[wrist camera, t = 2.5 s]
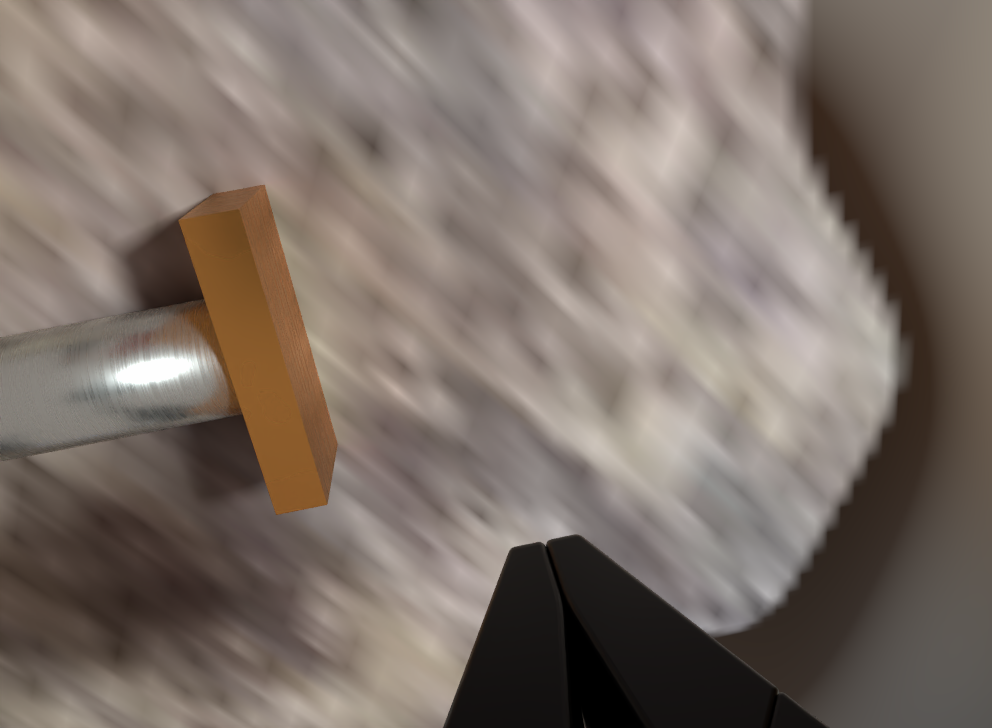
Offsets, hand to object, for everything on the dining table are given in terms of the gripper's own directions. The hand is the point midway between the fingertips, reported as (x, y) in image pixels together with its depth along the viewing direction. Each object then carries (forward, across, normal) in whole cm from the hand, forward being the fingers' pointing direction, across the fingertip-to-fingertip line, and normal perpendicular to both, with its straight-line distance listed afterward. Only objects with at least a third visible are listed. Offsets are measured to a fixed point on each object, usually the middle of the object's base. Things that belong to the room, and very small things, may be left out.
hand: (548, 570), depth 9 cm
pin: (+11, +9, 0) cm, 15 cm away
